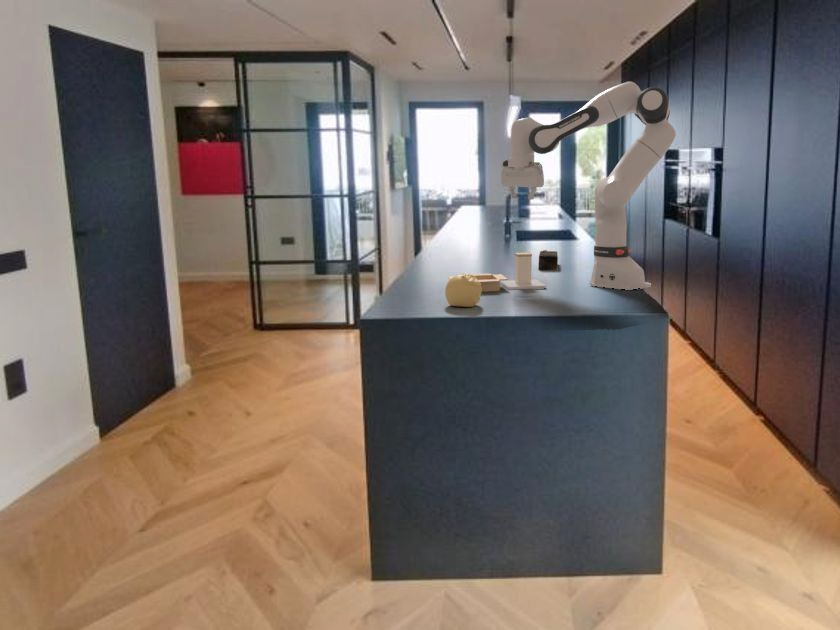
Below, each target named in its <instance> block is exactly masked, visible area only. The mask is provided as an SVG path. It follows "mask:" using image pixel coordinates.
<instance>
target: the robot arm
mask: <svg viewBox="0 0 840 630" xmlns="http://www.w3.org/2000/svg"><path fill="white" fill-rule="evenodd" d="M670 113H671V102H670V98H669V96H668V94H667V92H666V91H664V90H663V88H660V87H656V86H652V87H647V88H646V89H644V90H641V88H640V87H639V85H637V84H636V83H635V82H633V81H625V82H623V83H620V84H616V85H615V86H612V87H610V88H608V89H606V90H605V91H602V92H600V93H599V94H597V95H595V96H594V97H593V98H592V99H590V100H589V101H587V103H585V104H584V105H583V106H582V107H581V108H579V110H577V111H575V112H574V113H572V114H570V115H568V116H567V117H565V118H563V119H561V120H559V121H557V122H554V123H551V124H543V123H541V122H538V121H537V120H534V119H533V117H524V118H520V119H519V118H518V119H516V120H514V122H513V123H512V125H511V130H510V131H511V132H510V145H511V152H510V157H509V158H507V159H505V160H503V161H501V167H502V168H501V174H500V175H501V176H500V182H501V183H500V184H501V185H502V187H508V191H509V194H510V198H511V199H512V200H513V199H515V200H516V199H517V198H518V195H517V193H516V192H515V190H516V188H529V190H530V192H529V194H527V200H530V201H531V200H532V201H533V200H534V199H535V194H536V192H537V188H543V187H544V185H545V175H544V169H543V168H544V167H543V165H542V163H540V162H538V161H536V162H535V153H537V154H539V155H544V154H545V155H546V154H548V153H551V152H553V151H555V150H556V149H557V148H558V146H559V144H560V142H561V141H562V140H563V139H565V138H567V137H569V136H572V135H573V134H575V133H577V132H580V131H581V130H583V129H586V128H592V127H594V128H595V127H601V126H604V125H608V124H610V123H612V122H614V121H616V120H618V119H620V118H622V117H624V116H626V115H628V114H634V115H635V116H636V118H637V119H639V121H640V122H641V123H642V124H644V125H645V127H644V130H643V131H642V132H641V134H640V135H639V136H638V138H637V139H635V140H634V142H633V144H631V146H630V147H629V148H628V149H627V150H626V151H625V153H624V154H623V156H621V158H620V160H619V161H618V163H617V164H616V165H615V167H614V168H613V169H612V171H611V172H610V173H609V175H608V176H606V177H604V178H602V179H600V180H599V181H598V182H597V184H596V185H595V188H594V212H595V213H594V217H595V234H594V235H595V236H594V237H595V241H594V244H595V245H594V246H593V257H594V259H593V260H594V261H593V268H592V273H591V278H590V280H589V284H590V286H591V287H595V286H597V287H598V288H603V287H605V289H612V288H614V289H613V290H621V289H625V290H624V291H634V290H633V289H637V290H642V289H647V288H650V287H651V286H652V283H651V282H647V281H646V280H645V277H646V276H645V271H644V269H643V268H642V267H641V266H640V265H639V264H638V263H637V261H635V260H633V258H632V257H631V254H630V253H632V252H633V251H632V250H633V249H632V248H628V245H627V226H628V223H627V213H626V212H627V211H626V204H627V203H628V202H629V201H630V200H631V198H632V197H633V195H634V194H636V193H635V192H637V190H638V189H639V187H640V186H641V184H642V183H643V181H644V180H645V179H646V177H647V176H648V174H650V172H651V171H652V170H653V169H654V167H655V166H656V165H657V164H658V163H659V162H660V161H661V159H662V158H663V157H664V155H666V153H667V152H668V150H669V149H670V147H671V146H672V144H673V142H674V140H675V139H676V135H677V133H676V129H675V128H674V126H673V125H672V124H671V123H670V122H669V121H668V119H669V116H670ZM638 288H640V289H638Z"/></svg>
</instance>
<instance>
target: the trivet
mask: <svg viewBox="0 0 840 630" xmlns="http://www.w3.org/2000/svg"><path fill="white" fill-rule="evenodd" d="M500 285H501V286H503V287H505V288H506V289H507V290H528V289H529V290H530V289H534V290H545V289H544V288H546V289H547V284H545V283H544V282H541V281H540V280H538V279H536V278H535V279H531V284H517V283H515V279H513V280H509V279H508V280H500Z"/></svg>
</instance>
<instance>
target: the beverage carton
mask: <svg viewBox="0 0 840 630" xmlns="http://www.w3.org/2000/svg"><path fill="white" fill-rule="evenodd" d="M558 256H559V255H558V251H555V250H554V251H553V250H552V251H551V250H550V251H549V250H547V249H545V250H541V251H539V255H538V271H557V269H558V262H559V257H558Z"/></svg>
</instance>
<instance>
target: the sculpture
mask: <svg viewBox="0 0 840 630" xmlns="http://www.w3.org/2000/svg"><path fill="white" fill-rule="evenodd" d="M472 274H473V273H468V274H467V273H462V272H461V273H460V274H456V275H457V276H456V275H453V276H454V277H453V278H451V279H449V280H448V281H447V283H446V285H445V291H444V292H445V293H444V295H445V298H446V301H447V303H448V304H449V306H453V307H464V308H472V307H475V306H476V305H477V304H479V302H480V300H481V297H482V293H483V292H482V287H481V283H479V282H478V279H477V278H476V277H474V276H473V275H472Z"/></svg>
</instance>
